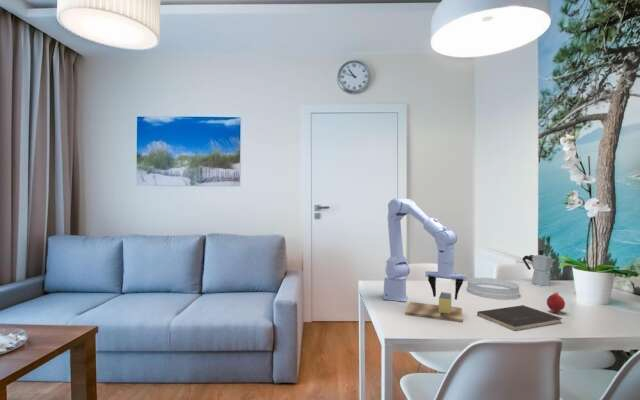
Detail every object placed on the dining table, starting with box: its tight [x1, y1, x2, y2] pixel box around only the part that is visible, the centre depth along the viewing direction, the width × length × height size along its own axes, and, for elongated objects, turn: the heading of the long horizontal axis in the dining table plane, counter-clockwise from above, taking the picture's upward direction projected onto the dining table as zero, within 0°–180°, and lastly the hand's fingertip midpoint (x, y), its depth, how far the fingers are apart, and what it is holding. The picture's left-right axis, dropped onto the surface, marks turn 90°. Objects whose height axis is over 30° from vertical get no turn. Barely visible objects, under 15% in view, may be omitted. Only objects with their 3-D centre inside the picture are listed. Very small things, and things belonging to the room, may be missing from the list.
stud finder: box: [438, 291, 452, 314], centre depth 130 cm, size 4×7×6 cm, turn 155°
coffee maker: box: [522, 249, 556, 287], centre depth 177 cm, size 15×9×18 cm, turn 46°
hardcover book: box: [476, 305, 563, 331], centre depth 125 cm, size 16×23×2 cm
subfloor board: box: [404, 301, 464, 323], centre depth 131 cm, size 20×14×1 cm
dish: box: [466, 277, 520, 301], centre depth 160 cm, size 22×22×5 cm
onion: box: [546, 291, 566, 313], centre depth 132 cm, size 6×6×8 cm
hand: (445, 297), depth 130 cm, fingers open, 7 cm apart
